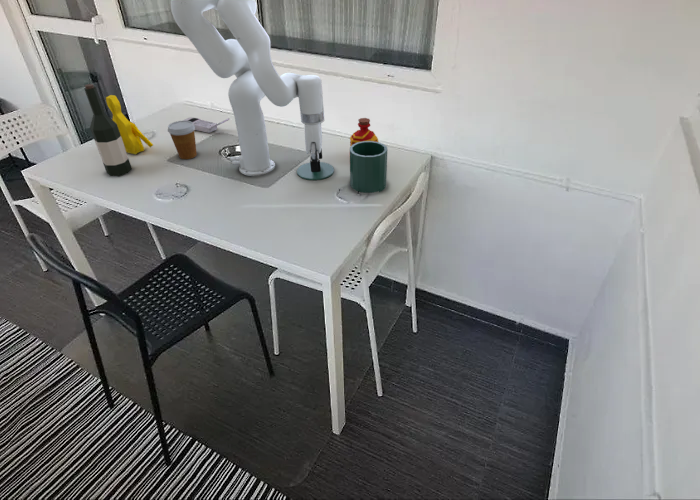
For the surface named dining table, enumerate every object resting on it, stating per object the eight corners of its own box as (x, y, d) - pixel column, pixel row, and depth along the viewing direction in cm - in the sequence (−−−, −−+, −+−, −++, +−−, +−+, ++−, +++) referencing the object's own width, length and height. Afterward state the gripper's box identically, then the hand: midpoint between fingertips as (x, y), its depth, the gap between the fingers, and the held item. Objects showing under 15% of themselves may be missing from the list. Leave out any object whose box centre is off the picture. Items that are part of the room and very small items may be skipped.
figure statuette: (159, 151, 173) (142, 93, 160) (144, 159, 168) (125, 100, 154) (124, 144, 179) (105, 87, 166) (109, 152, 173) (88, 94, 160)
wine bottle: (137, 168, 162) (109, 82, 144) (118, 178, 156) (87, 90, 138) (120, 164, 165) (90, 80, 147) (101, 173, 159) (68, 87, 141)
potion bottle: (375, 167, 160) (376, 126, 151) (347, 165, 162) (346, 124, 153) (380, 154, 168) (381, 115, 159) (352, 152, 170) (352, 113, 161)
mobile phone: (221, 122, 179) (173, 113, 188) (223, 137, 183) (176, 126, 192) (230, 117, 184) (183, 108, 193) (232, 131, 187) (186, 122, 196)
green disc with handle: (295, 182, 152) (293, 164, 148) (299, 164, 162) (297, 147, 158) (333, 181, 152) (332, 163, 148) (334, 164, 162) (334, 147, 158)
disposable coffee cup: (169, 159, 168) (160, 128, 161) (186, 148, 175) (178, 118, 168) (190, 163, 165) (182, 131, 158) (206, 152, 172) (199, 121, 165)
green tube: (350, 194, 145) (349, 157, 137) (350, 177, 155) (349, 141, 147) (386, 194, 145) (388, 156, 137) (384, 176, 154) (386, 140, 147)
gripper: (303, 107, 152) (308, 154, 162) (298, 127, 138) (303, 177, 148) (325, 106, 152) (328, 153, 162) (322, 126, 138) (326, 176, 148)
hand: (316, 164), depth 155 cm, fingers open, 9 cm apart
